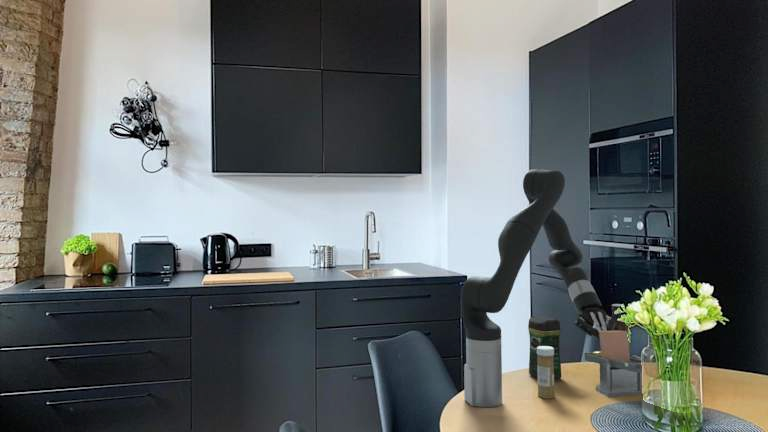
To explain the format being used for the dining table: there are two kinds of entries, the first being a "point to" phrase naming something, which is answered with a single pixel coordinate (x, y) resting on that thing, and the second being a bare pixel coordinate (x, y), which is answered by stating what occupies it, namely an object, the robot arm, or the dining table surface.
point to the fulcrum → (618, 380)
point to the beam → (618, 363)
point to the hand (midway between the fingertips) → (607, 346)
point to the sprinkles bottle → (545, 372)
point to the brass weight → (597, 353)
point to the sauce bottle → (617, 324)
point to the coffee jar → (544, 342)
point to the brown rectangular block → (614, 345)
